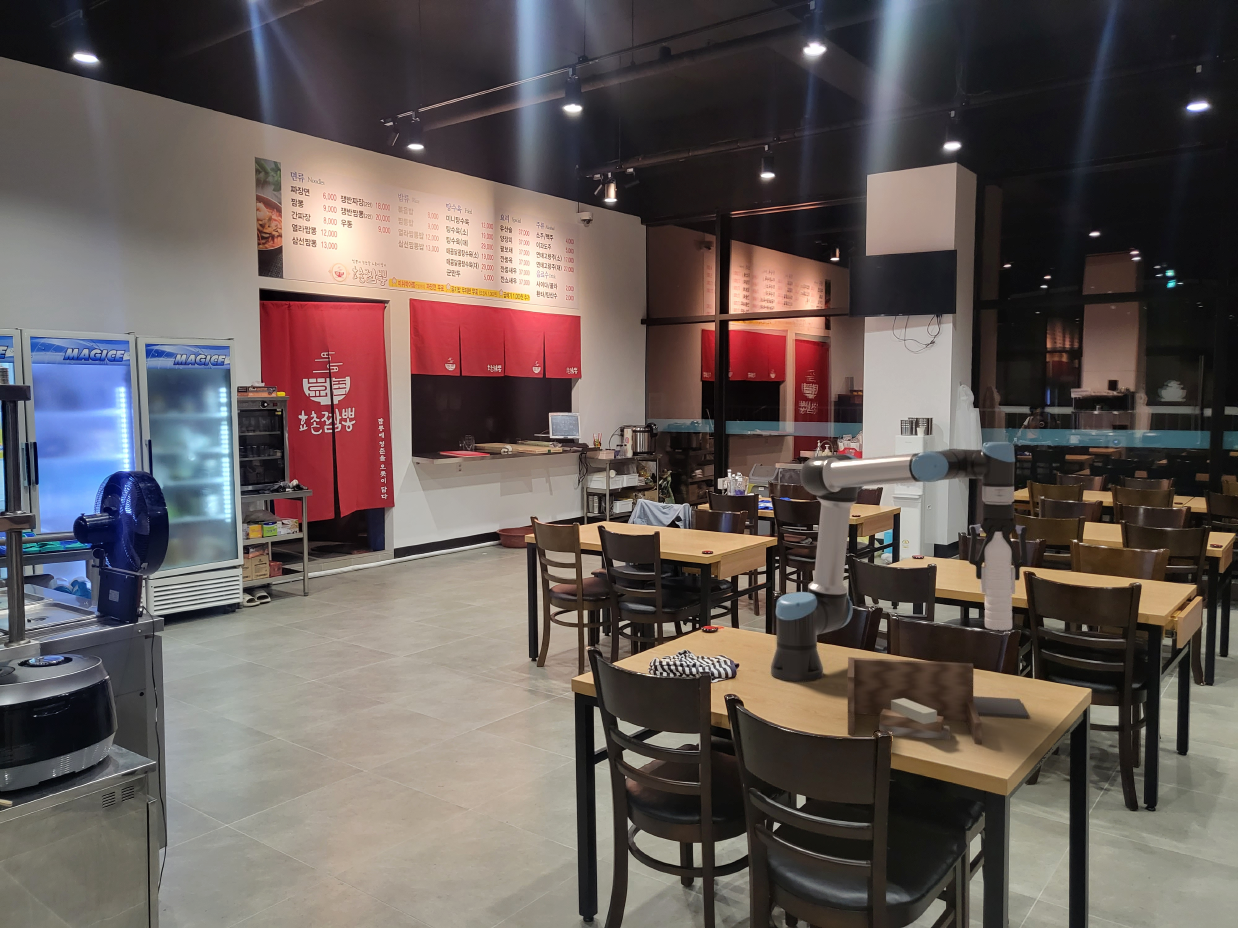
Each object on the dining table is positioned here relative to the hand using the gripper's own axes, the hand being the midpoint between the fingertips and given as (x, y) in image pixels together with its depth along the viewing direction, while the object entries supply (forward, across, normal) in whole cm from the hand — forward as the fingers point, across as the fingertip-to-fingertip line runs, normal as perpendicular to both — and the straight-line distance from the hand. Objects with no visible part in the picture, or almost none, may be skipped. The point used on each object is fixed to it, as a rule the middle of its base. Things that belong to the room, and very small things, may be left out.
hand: (997, 592), depth 230 cm
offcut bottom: (+31, -22, -23) cm, 44 cm away
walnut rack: (+30, -22, -18) cm, 42 cm away
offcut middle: (+28, -22, -23) cm, 43 cm away
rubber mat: (+30, 0, 0) cm, 30 cm away
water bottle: (+9, -1, 0) cm, 9 cm away
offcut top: (+26, -22, -24) cm, 41 cm away
